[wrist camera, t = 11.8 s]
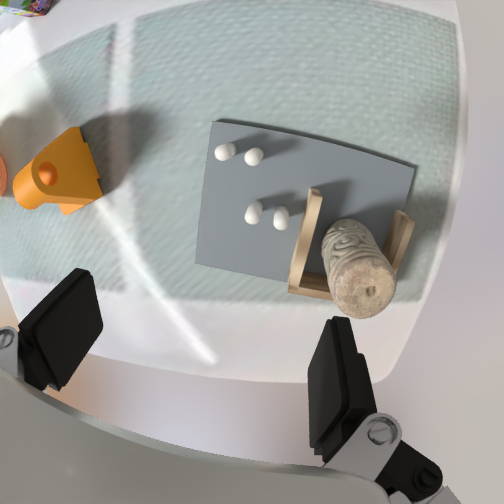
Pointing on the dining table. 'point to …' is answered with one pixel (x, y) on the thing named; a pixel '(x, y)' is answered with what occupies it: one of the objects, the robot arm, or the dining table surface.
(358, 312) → the carving
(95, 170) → the bracket
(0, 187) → the potted cactus
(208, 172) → the board
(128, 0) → the dining table surface
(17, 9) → the snack box
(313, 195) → the end holder
